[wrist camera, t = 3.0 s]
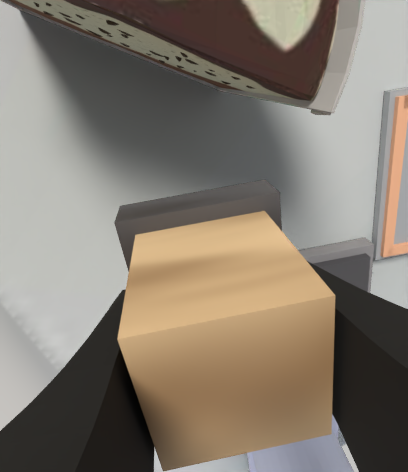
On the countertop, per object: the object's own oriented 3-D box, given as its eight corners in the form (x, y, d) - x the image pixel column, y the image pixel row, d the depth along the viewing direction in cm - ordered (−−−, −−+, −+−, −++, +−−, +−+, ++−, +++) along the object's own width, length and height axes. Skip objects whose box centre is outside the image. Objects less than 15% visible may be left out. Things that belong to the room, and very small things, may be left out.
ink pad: (357, 343, 25) (368, 359, 23) (240, 368, 24) (245, 385, 23) (364, 237, 21) (379, 248, 19) (226, 264, 20) (230, 277, 19)
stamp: (273, 297, 13) (350, 443, 8) (152, 322, 13) (146, 488, 8) (265, 179, 11) (363, 267, 6) (120, 206, 11) (80, 322, 6)
